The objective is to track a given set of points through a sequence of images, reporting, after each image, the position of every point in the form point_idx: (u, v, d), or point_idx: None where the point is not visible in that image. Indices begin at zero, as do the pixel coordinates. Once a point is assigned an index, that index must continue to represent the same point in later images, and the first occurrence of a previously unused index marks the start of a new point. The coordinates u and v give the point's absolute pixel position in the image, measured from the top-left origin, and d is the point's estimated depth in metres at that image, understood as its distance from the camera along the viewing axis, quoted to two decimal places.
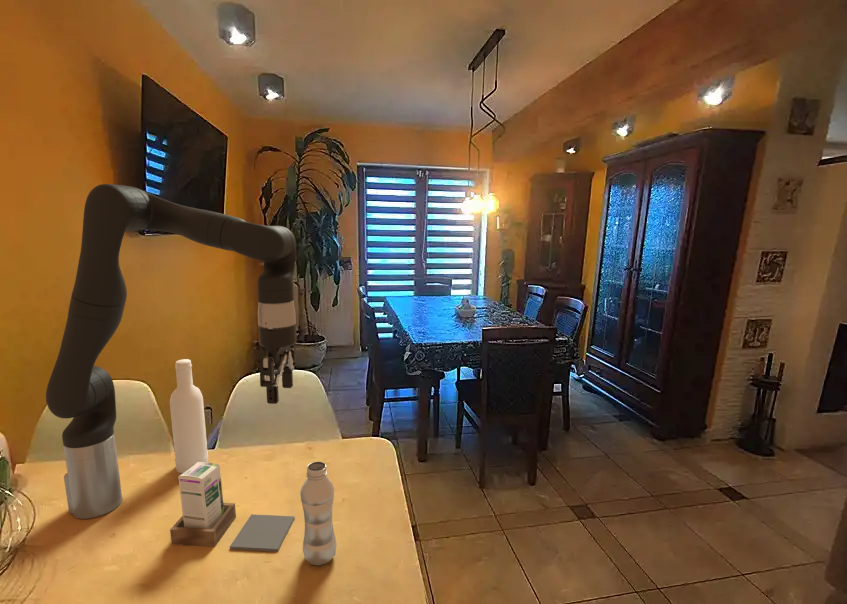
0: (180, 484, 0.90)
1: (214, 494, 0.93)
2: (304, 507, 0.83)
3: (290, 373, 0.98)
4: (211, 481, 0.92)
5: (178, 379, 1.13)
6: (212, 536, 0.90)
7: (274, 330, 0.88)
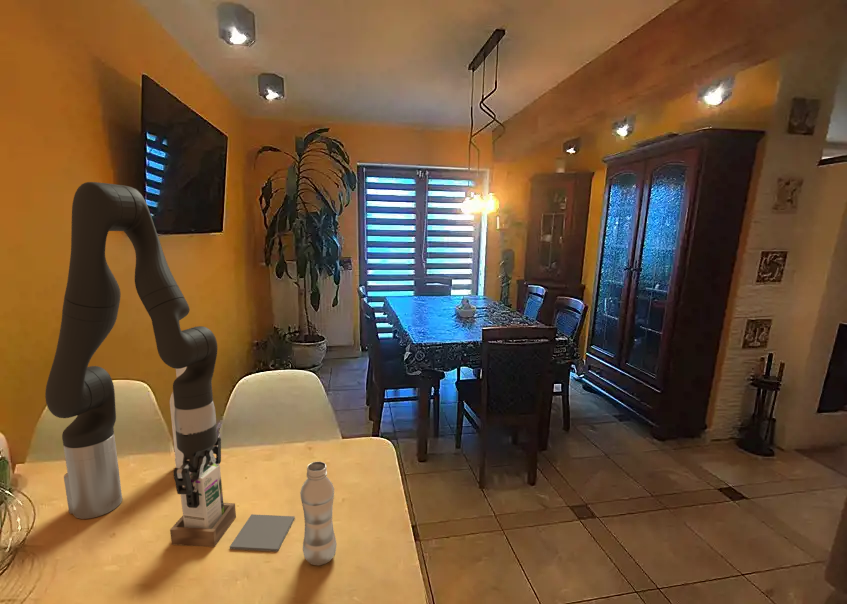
0: None
1: (214, 494, 0.93)
2: (304, 507, 0.83)
3: None
4: (211, 481, 0.92)
5: None
6: (212, 536, 0.90)
7: (189, 436, 0.87)
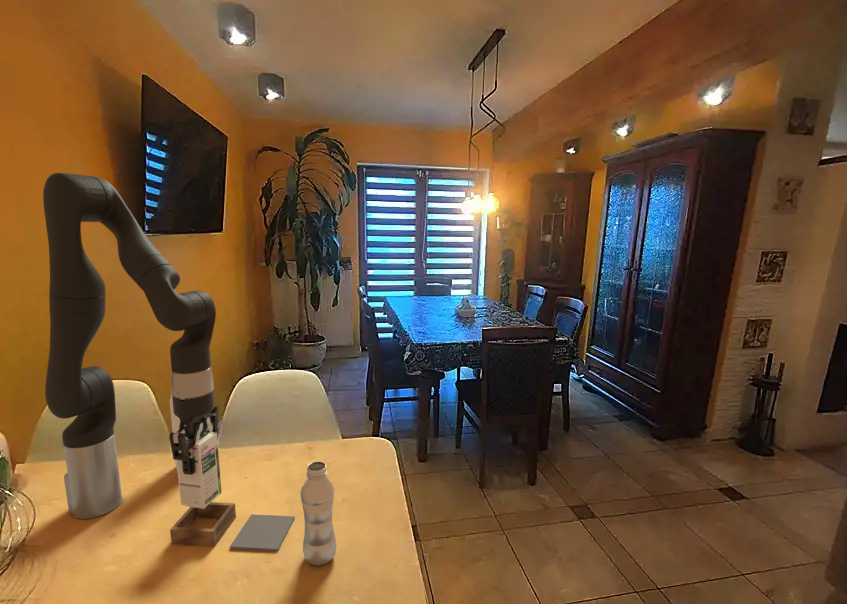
0: None
1: (211, 462, 0.92)
2: (304, 507, 0.83)
3: None
4: (208, 449, 0.91)
5: None
6: (212, 536, 0.90)
7: (186, 400, 0.85)
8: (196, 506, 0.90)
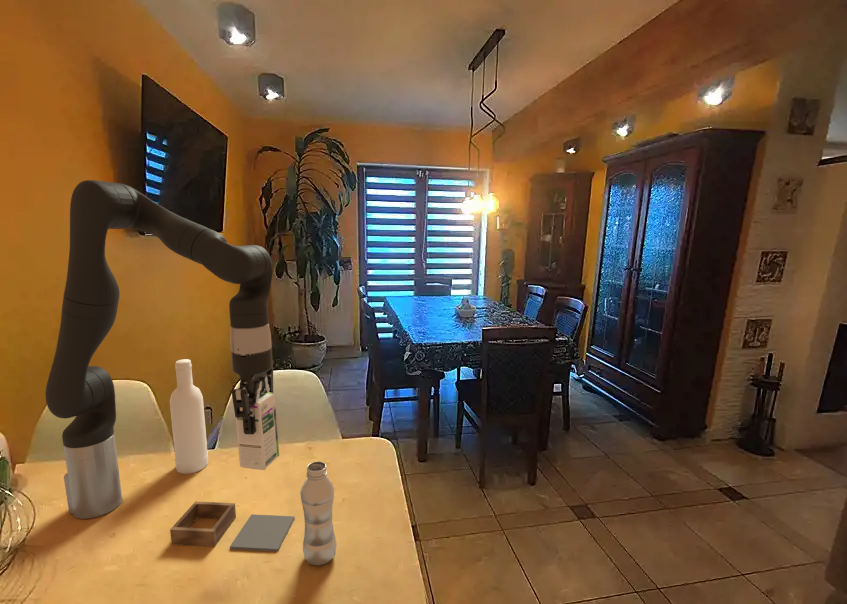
0: None
1: (270, 423, 0.89)
2: (304, 507, 0.83)
3: None
4: (267, 408, 0.88)
5: (178, 379, 1.13)
6: (212, 536, 0.90)
7: (247, 356, 0.83)
8: (256, 467, 0.88)
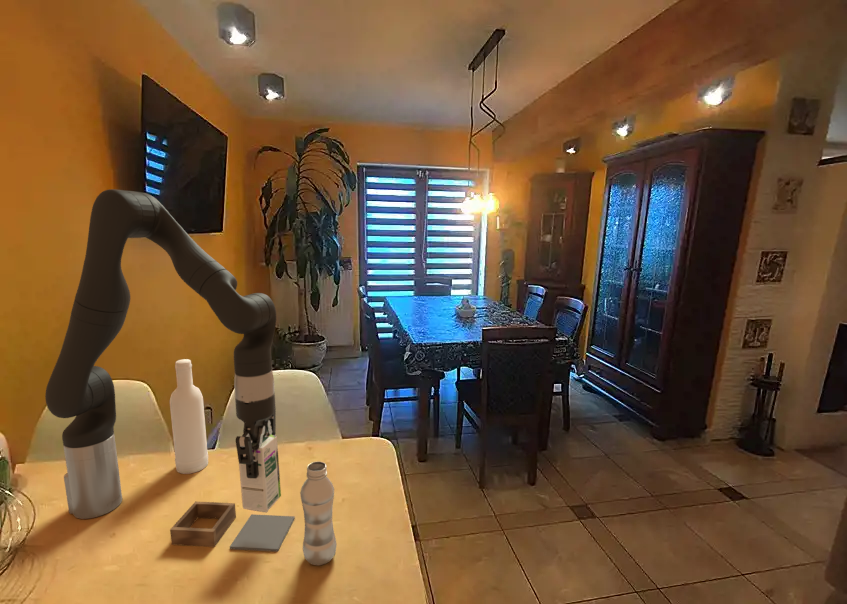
0: None
1: (272, 466, 0.91)
2: (304, 507, 0.83)
3: None
4: (270, 452, 0.90)
5: (178, 379, 1.13)
6: (212, 536, 0.90)
7: (251, 404, 0.85)
8: (259, 510, 0.90)
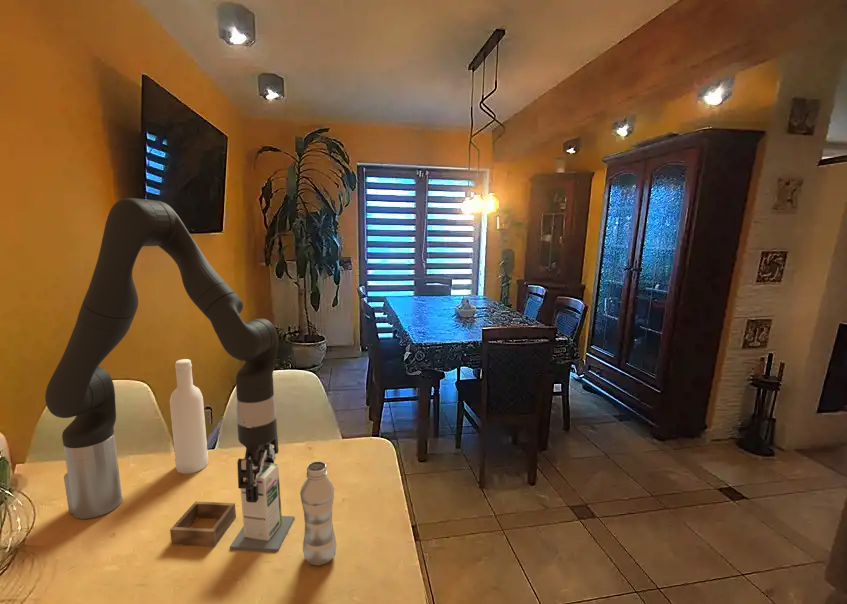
0: None
1: (274, 494, 0.92)
2: (304, 507, 0.83)
3: None
4: (272, 481, 0.91)
5: (178, 379, 1.13)
6: (212, 536, 0.90)
7: (253, 429, 0.86)
8: (260, 538, 0.91)
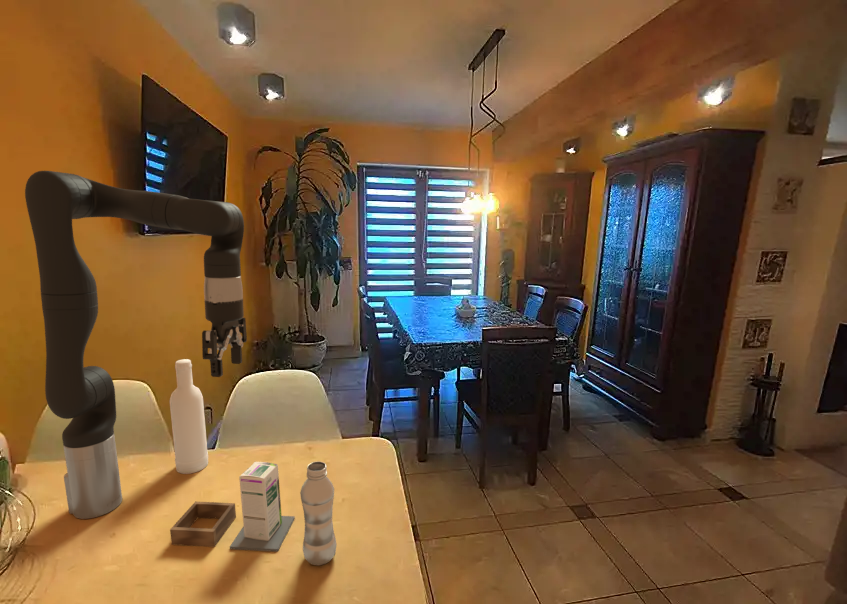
0: (241, 484, 0.89)
1: (274, 494, 0.92)
2: (304, 507, 0.83)
3: (239, 349, 0.99)
4: (271, 481, 0.91)
5: (178, 379, 1.13)
6: (212, 536, 0.90)
7: (218, 304, 0.90)
8: (260, 538, 0.91)
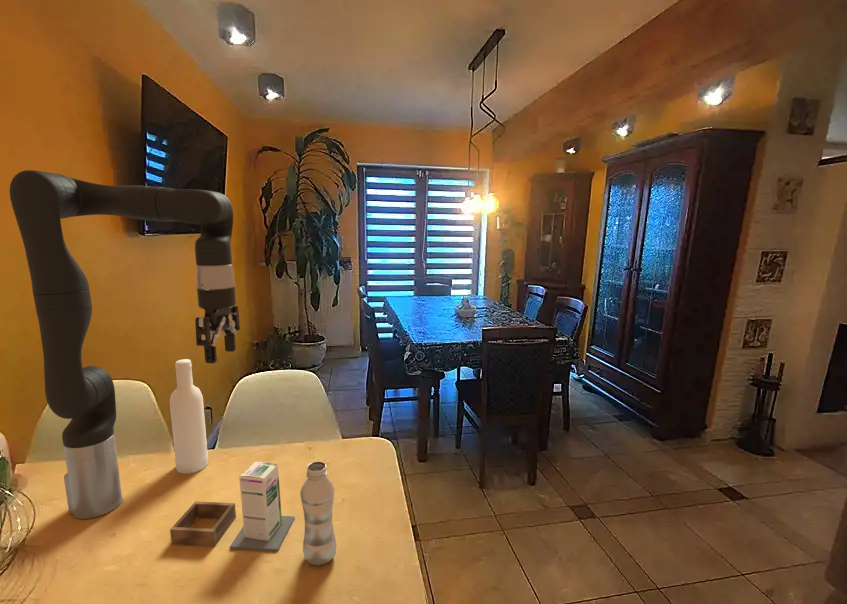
0: (241, 484, 0.89)
1: (274, 494, 0.92)
2: (304, 507, 0.83)
3: (232, 337, 1.01)
4: (271, 481, 0.91)
5: (178, 379, 1.13)
6: (212, 536, 0.90)
7: (211, 291, 0.92)
8: (260, 538, 0.91)
